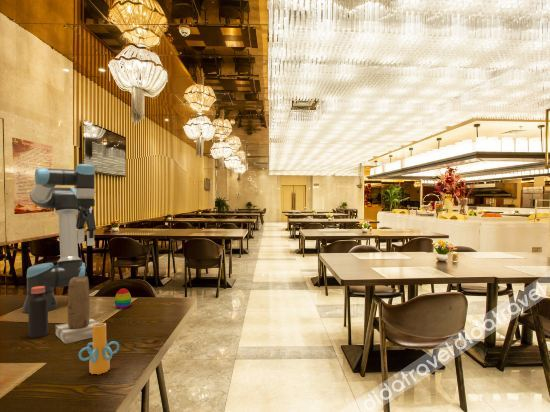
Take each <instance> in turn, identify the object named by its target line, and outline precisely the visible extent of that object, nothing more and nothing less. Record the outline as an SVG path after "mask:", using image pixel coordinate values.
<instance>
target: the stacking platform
mask: <svg viewBox="0 0 550 412" xmlns="http://www.w3.org/2000/svg"><path fill="white" fill-rule="evenodd" d="M97 323H99V321H97V320H95V319H93V318H91V317H89V324H88V325H87V326H85V327H82V328H69V326H68V322H66V323H65V322H64V323H61V324H55V336H56V337H57V338H58V339H59V340H60V341H61V342H63V343H64V344H65V345H67V344H71V343H74V342H79V341H83V340H88V339H93V325H94V324H97Z"/></svg>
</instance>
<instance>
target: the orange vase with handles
mask: <svg viewBox="0 0 550 412" xmlns="http://www.w3.org/2000/svg"><path fill="white" fill-rule="evenodd" d="M113 344H114V345H115V346H116V348H115V350H114V351H112V348H111V347H110V346H111V345H113ZM86 345H87V346H85V347H83V348H81V349H80V350H79V352H78V358H79V360H80V361H84V362H85V361H88V360H89V362H88V363H89V364H88V365H89V367H88V368H89V369H88V371H89V374H90V373H91V375H93V374H97V375H101V374H102V373H103V374H105V373H107V372H109V371H108V370H110V368H111V364H110V363H111V359H112V357H113V355H114V354H116V353H118V352H119V350H120V344H119V342H118V341H114V340H113V341H110V342H109V343H108V340H107V323H106V322H98V323H97V324H94V325H93V337H92V341H91V342H88V343H87V344H86ZM91 346H92V347H91ZM84 351H87V353H88V354H89V356H87V357H83V356H82V353H83V352H84Z"/></svg>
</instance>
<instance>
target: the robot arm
mask: <svg viewBox="0 0 550 412" xmlns="http://www.w3.org/2000/svg"><path fill="white" fill-rule="evenodd" d="M34 171H35V172H34V182H35V186H34V187H32V188H31V190H30V193H29V198H30V200H31V202H32V203H33V204H35V205H36V206H38V207H40V208H42V209H48V210H49V209H50V210H52V209H54V211H55V214H57V215H58V229H59V230H58V232H59V236H58V237H59V253H60V254H59V255H60V256H59V257H60V258H59V259H58V260H57V261H56V265H55V264H54V262H45V263H39V264H35V265H32V266H29V267H28V268H27V270H26V297H25V300H24V303H23V306H22V313H26V314H29V310H28V301H29V299H30V298H31V297H32V295H31V288H32V287H37V286H45V293H44V295H45V296H46V297H47V298H48V312H50V311H53V310H56V309H58V301H57V298H56V296H55V293H54V288H61V287H69V282H70V280H71V279H72V278H73V277H80V276H85V274H86V263H85V262H82V258H81V257H79V247H78V244H84V243H85V231H86V246H87V247H88V246H90V247H91V246H95V230H97V226H96V225H97V224H96V220H95V214H94V213H95V212H94V207H95V206H96V205H95V202H96V200H95V196H96V195H95V193H96V192H97V191H96V190H95V177H96V176H95V174H96V170H95V166H94V165H93V164H87V163H78V164H77V165H76V166H75V169H67V168H65V169H63V168H47V167H42V168H41V167H40V168H39V167H37V168H36V169H35V170H34ZM56 186H69V187H56ZM70 186H73V187H70ZM75 186H76V188H75ZM91 207H93V208H91ZM85 224H86V227H87V228H86V227H85ZM85 229H86V230H85Z"/></svg>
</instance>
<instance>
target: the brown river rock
mask: <svg viewBox="0 0 550 412" xmlns="http://www.w3.org/2000/svg"><path fill="white" fill-rule="evenodd" d="M90 312H91V311H90V283H89V277H88V276H87V275H86V276H80V277H73V278H72V279H71V280H70V282H69V286H68V289H67V323H68V326H69V328H82V327H85V326H87V325H88V324H89V318H90Z"/></svg>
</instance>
